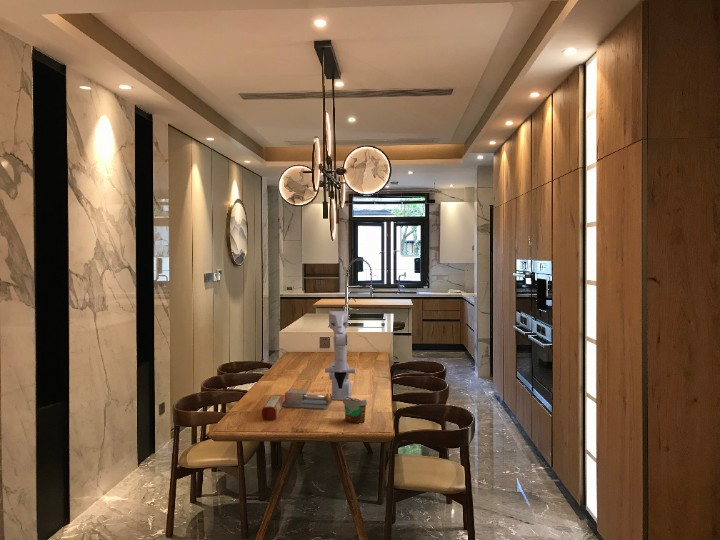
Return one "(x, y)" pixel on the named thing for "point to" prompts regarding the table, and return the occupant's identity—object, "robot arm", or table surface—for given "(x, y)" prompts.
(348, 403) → the food container
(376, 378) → the table surface
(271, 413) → the snack package
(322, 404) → the slate base board
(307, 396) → the steel shaft
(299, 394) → the bearing housing
